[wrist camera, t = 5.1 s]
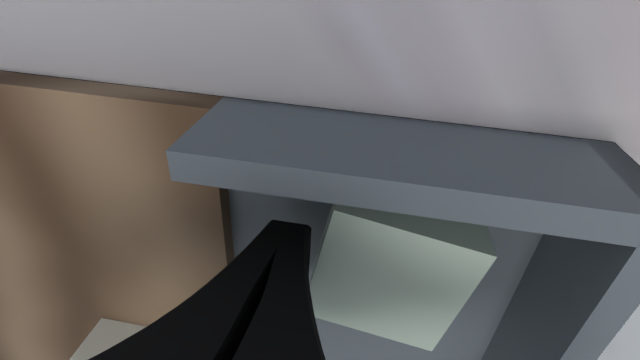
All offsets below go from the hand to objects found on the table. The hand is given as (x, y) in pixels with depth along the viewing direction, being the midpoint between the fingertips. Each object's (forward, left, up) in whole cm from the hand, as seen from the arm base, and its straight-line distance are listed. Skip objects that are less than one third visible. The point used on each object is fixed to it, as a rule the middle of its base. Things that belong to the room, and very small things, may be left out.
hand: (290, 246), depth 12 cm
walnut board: (-10, -5, -2) cm, 11 cm away
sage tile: (+3, 0, -1) cm, 3 cm away
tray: (+3, -5, -2) cm, 6 cm away
